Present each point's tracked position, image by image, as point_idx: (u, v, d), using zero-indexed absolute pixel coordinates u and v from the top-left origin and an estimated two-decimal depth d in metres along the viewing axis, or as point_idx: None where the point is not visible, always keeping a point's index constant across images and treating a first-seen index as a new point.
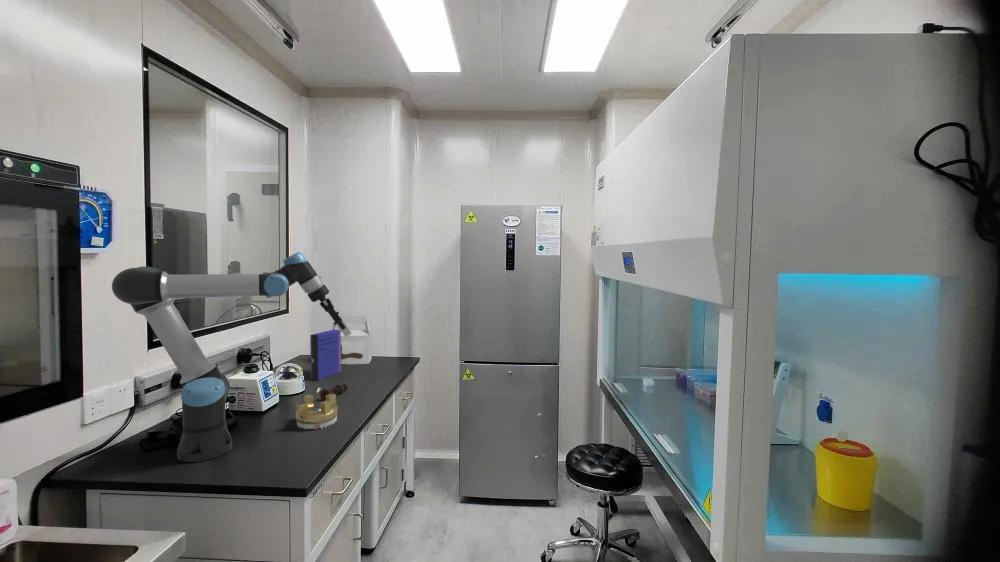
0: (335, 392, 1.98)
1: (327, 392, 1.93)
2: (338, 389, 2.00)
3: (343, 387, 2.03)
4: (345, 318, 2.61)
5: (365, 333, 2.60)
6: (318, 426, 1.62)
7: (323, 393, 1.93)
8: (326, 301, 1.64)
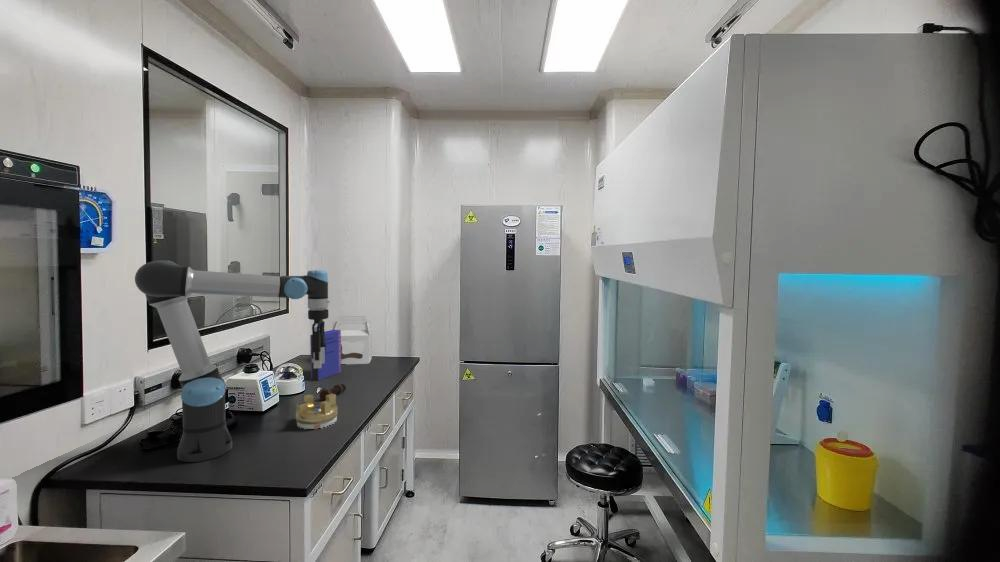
0: (334, 392, 1.98)
1: (326, 392, 1.93)
2: (337, 389, 2.00)
3: (342, 387, 2.03)
4: (345, 318, 2.61)
5: (365, 333, 2.60)
6: (318, 426, 1.62)
7: (322, 393, 1.93)
8: (317, 328, 1.66)
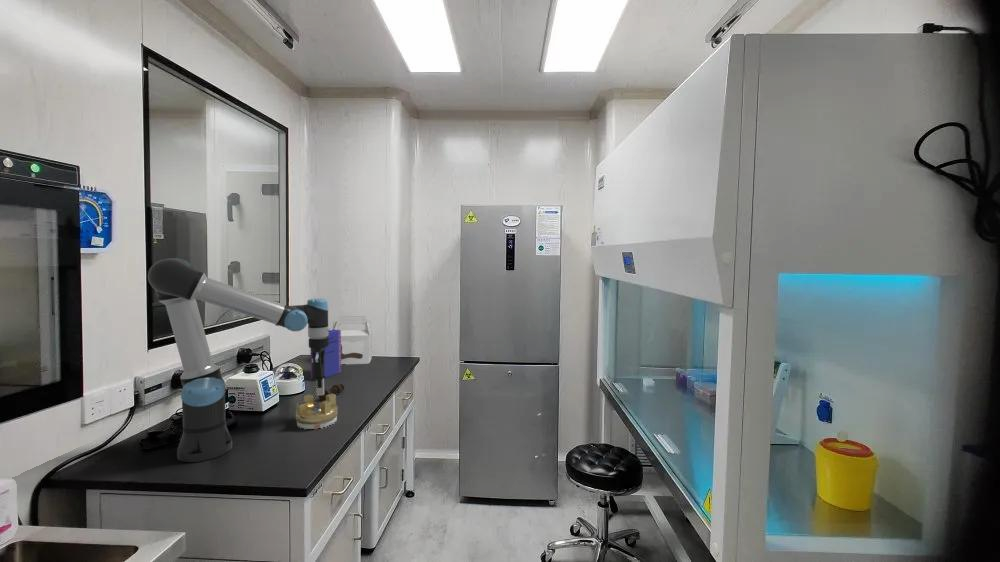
0: (333, 392, 1.98)
1: (326, 392, 1.93)
2: (336, 389, 2.00)
3: (340, 387, 2.03)
4: (345, 318, 2.61)
5: (365, 333, 2.60)
6: (318, 426, 1.62)
7: None
8: (318, 360, 1.67)
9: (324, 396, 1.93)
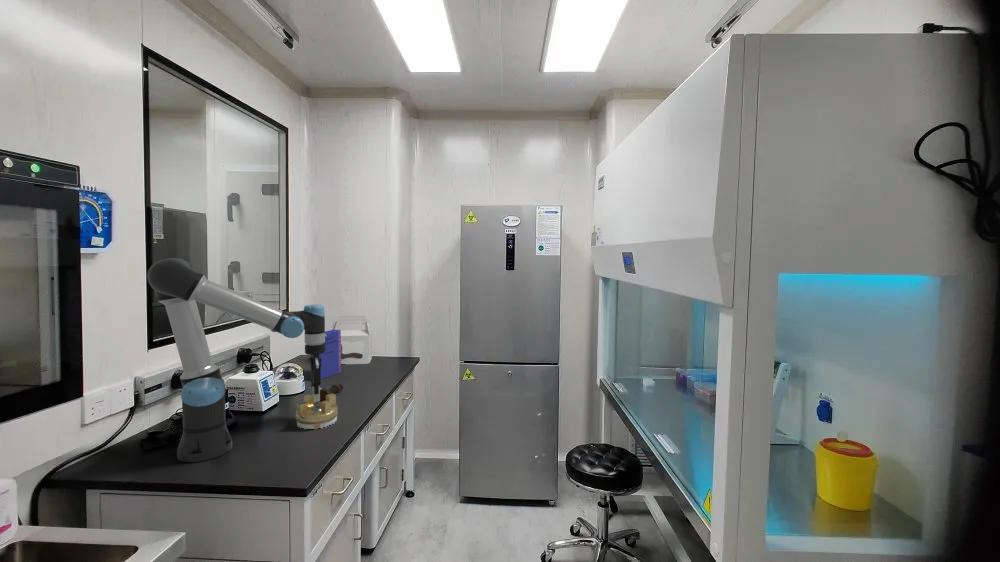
0: (332, 392, 1.98)
1: (325, 392, 1.93)
2: (335, 389, 2.00)
3: (339, 387, 2.03)
4: (345, 318, 2.61)
5: (365, 333, 2.60)
6: (318, 426, 1.62)
7: (321, 393, 1.93)
8: (319, 366, 1.67)
9: (324, 396, 1.93)
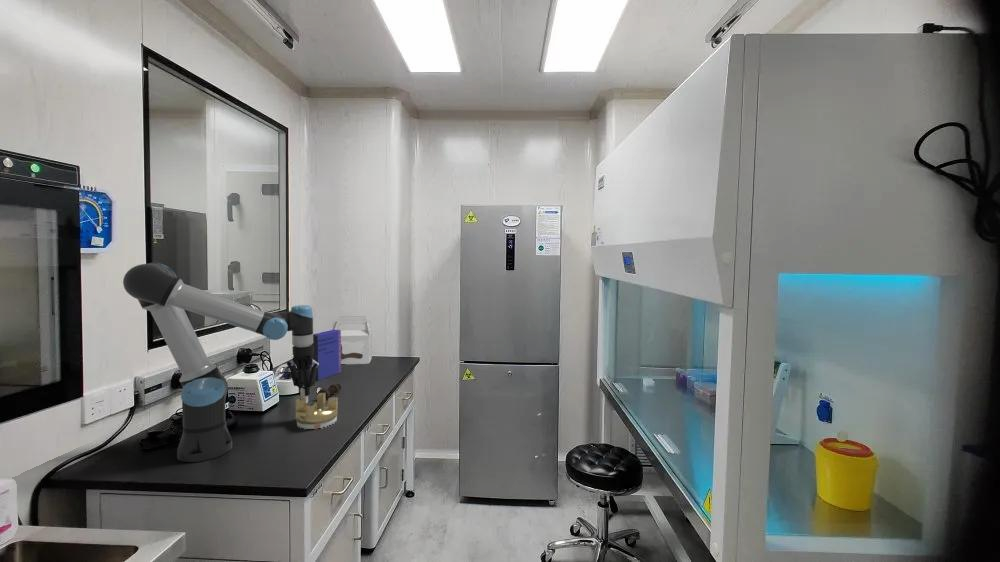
0: (331, 392, 1.98)
1: (325, 392, 1.93)
2: (333, 389, 2.00)
3: (338, 387, 2.03)
4: (345, 318, 2.61)
5: (365, 333, 2.60)
6: (318, 426, 1.62)
7: None
8: (318, 365, 1.69)
9: None
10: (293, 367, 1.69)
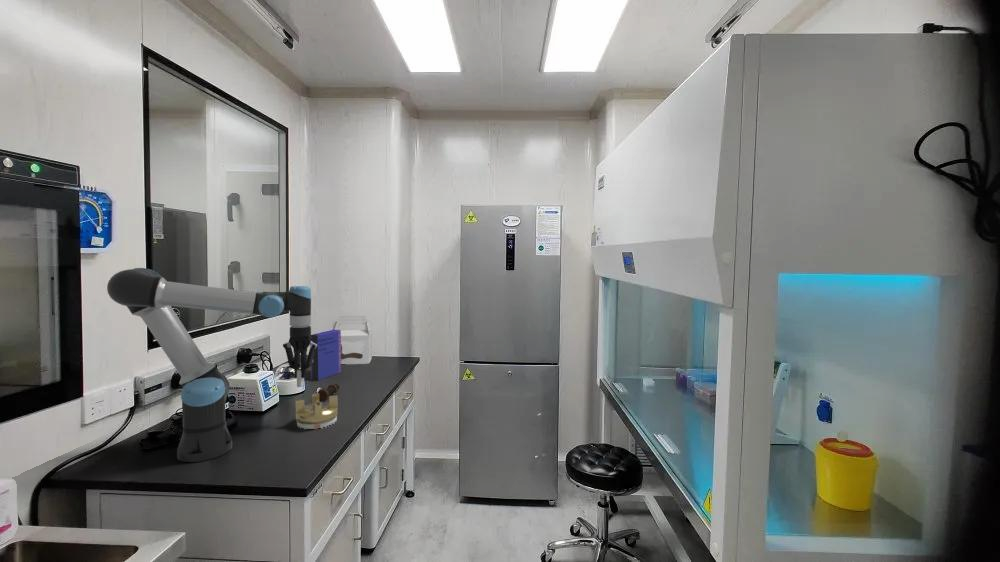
0: (330, 392, 1.98)
1: (324, 392, 1.92)
2: (332, 389, 2.00)
3: (336, 387, 2.03)
4: (345, 318, 2.61)
5: (365, 333, 2.60)
6: (318, 426, 1.62)
7: (319, 393, 1.93)
8: (316, 346, 1.67)
9: (322, 396, 1.93)
10: (289, 349, 1.66)
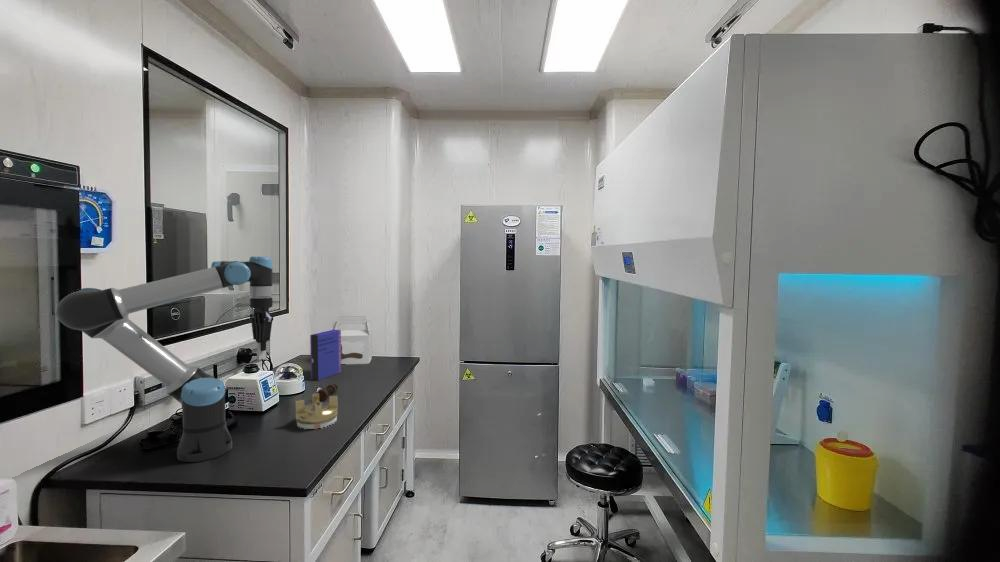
0: (329, 392, 1.98)
1: (323, 392, 1.92)
2: (331, 389, 2.00)
3: (335, 387, 2.03)
4: (345, 318, 2.61)
5: (365, 333, 2.60)
6: (318, 426, 1.62)
7: (319, 394, 1.92)
8: (271, 319, 1.60)
9: (322, 396, 1.92)
10: None
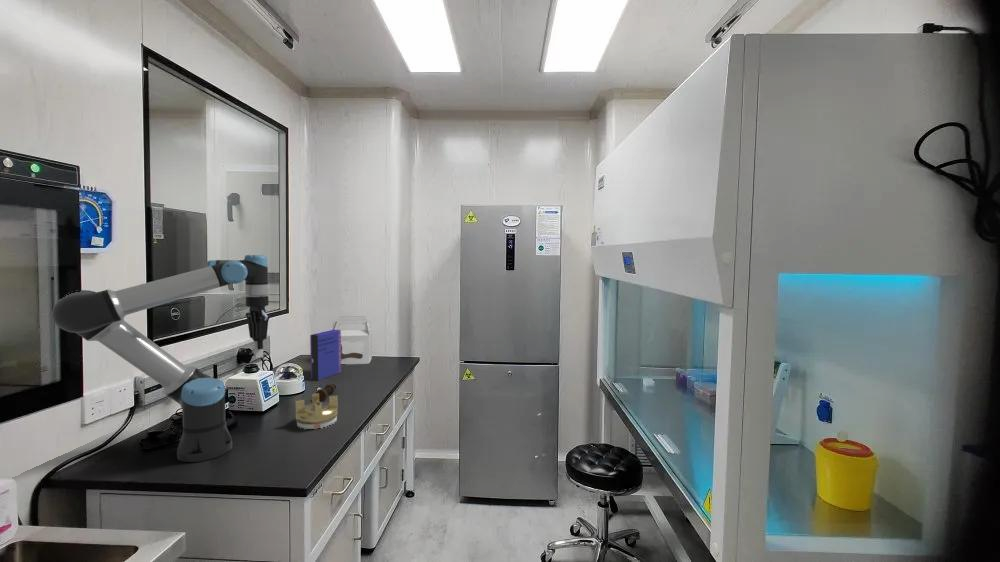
0: (328, 392, 1.98)
1: (322, 392, 1.92)
2: (330, 389, 2.00)
3: (333, 387, 2.03)
4: (345, 318, 2.61)
5: (365, 333, 2.60)
6: (318, 426, 1.62)
7: None
8: (267, 317, 1.60)
9: (321, 396, 1.92)
10: (251, 318, 1.65)
